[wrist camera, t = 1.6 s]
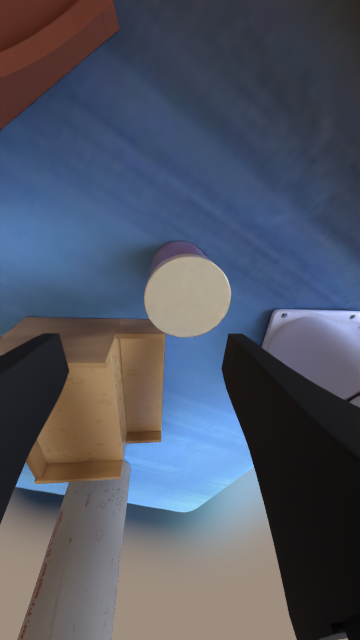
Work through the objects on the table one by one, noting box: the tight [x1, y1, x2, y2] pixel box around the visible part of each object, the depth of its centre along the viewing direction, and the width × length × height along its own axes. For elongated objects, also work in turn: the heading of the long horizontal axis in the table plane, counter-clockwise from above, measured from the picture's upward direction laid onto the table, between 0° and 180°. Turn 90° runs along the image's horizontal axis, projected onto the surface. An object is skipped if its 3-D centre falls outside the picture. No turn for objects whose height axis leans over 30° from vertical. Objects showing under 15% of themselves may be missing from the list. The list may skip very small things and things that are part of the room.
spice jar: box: [144, 241, 231, 338], centre depth 14 cm, size 5×5×6 cm
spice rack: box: [0, 317, 166, 484], centre depth 19 cm, size 12×15×6 cm
